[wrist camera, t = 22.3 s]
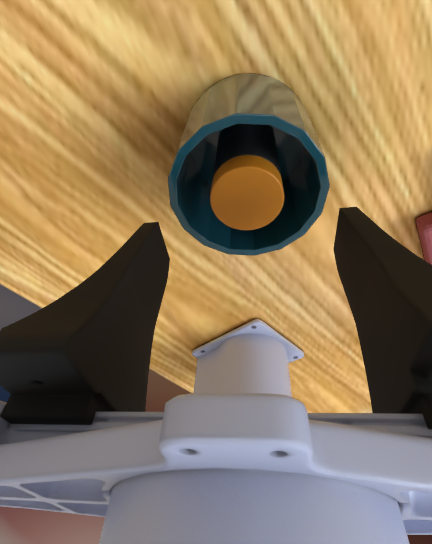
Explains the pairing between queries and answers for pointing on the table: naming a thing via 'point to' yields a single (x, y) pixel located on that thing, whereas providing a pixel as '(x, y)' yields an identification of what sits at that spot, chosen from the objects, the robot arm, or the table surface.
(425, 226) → the popsicle
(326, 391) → the table surface
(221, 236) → the tumbler
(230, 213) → the glue stick
